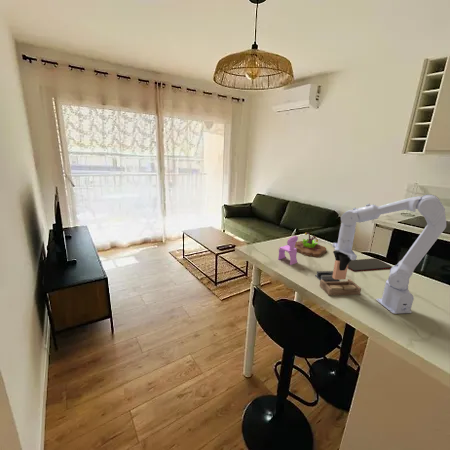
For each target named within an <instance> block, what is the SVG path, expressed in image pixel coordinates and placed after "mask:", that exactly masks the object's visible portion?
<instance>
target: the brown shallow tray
mask: <svg viewBox="0 0 450 450" xmlns="http://www.w3.org/2000/svg"><path fill="white" fill-rule="evenodd" d="M330 285H340V286H342V285H354V286H355V287H356V289H354V290H332V289H331V288H330V287H329V286H330ZM319 287H320V288H321V289H322V290H323V291H324V293H326V295H327V296H356V295H357V296H358V295H361V291H362V288H361V286H359V285H358V284H357V283H355V281H353V280H352V279H350V278H348V279H347V280H343V281H336V282H324V281H323V280H319Z"/></svg>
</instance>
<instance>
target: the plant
mask: <svg viewBox="0 0 450 450" xmlns="http://www.w3.org/2000/svg"><path fill="white" fill-rule="evenodd" d="M304 235H305V236H307V235H308V238H307V239H304V238H302V240H298V241H297V242H296V244H295V248H296V249H297V253H299V254H301V255H304V256H306V257H313V258H319V257H321V256H322V255H323V254H326V253H327V247H326V246H324V245H321V244H319V240H318V238H317V236H315V235H312V236H311V234H310V233H309V232H305V233H304Z"/></svg>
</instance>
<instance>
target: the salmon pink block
mask: <svg viewBox="0 0 450 450" xmlns="http://www.w3.org/2000/svg"><path fill="white" fill-rule="evenodd" d="M348 264H349V263H348ZM339 266H340V260H336V259H335V260H334V265H333V270H332V271H333V276H332V278H334V279H339V280H346V278H347V273H348V270H349V269H348V265H347V267H346V269H345V270H340V268H339Z"/></svg>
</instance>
